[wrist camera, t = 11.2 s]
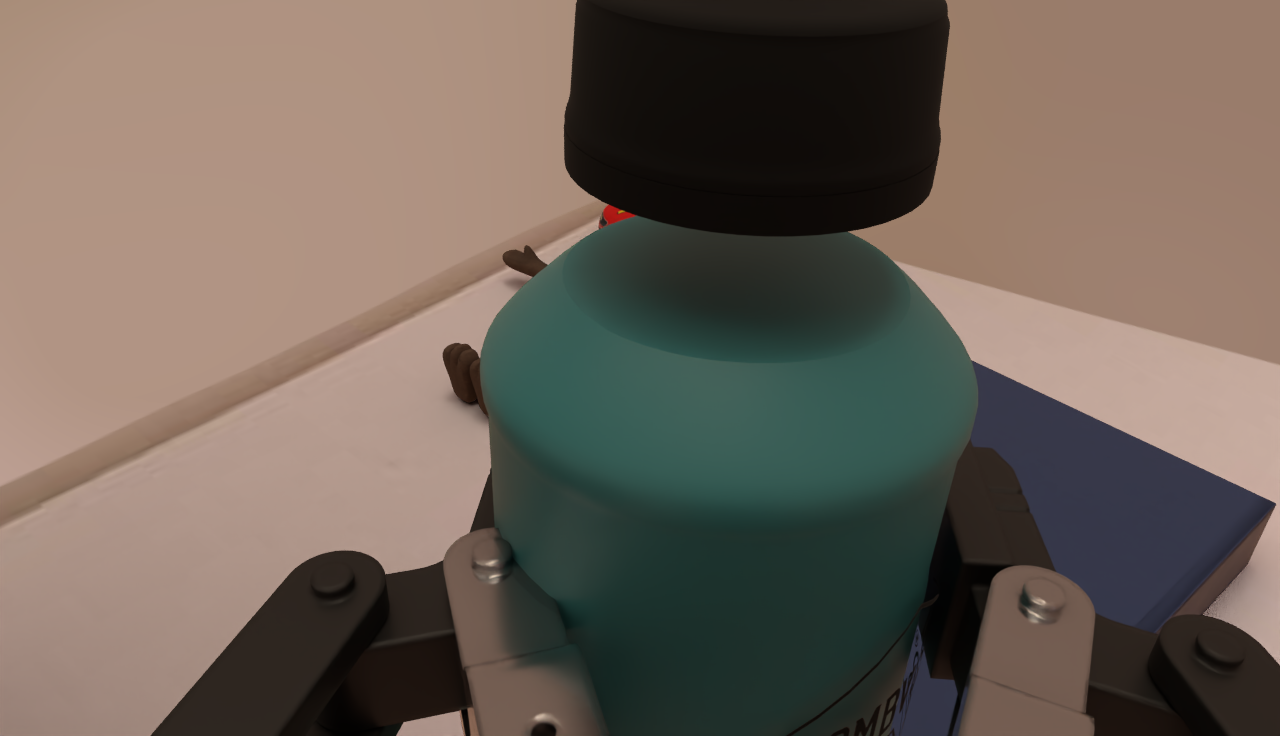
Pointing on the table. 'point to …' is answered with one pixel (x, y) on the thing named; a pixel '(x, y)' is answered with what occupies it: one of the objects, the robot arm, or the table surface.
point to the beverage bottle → (737, 368)
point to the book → (1104, 522)
